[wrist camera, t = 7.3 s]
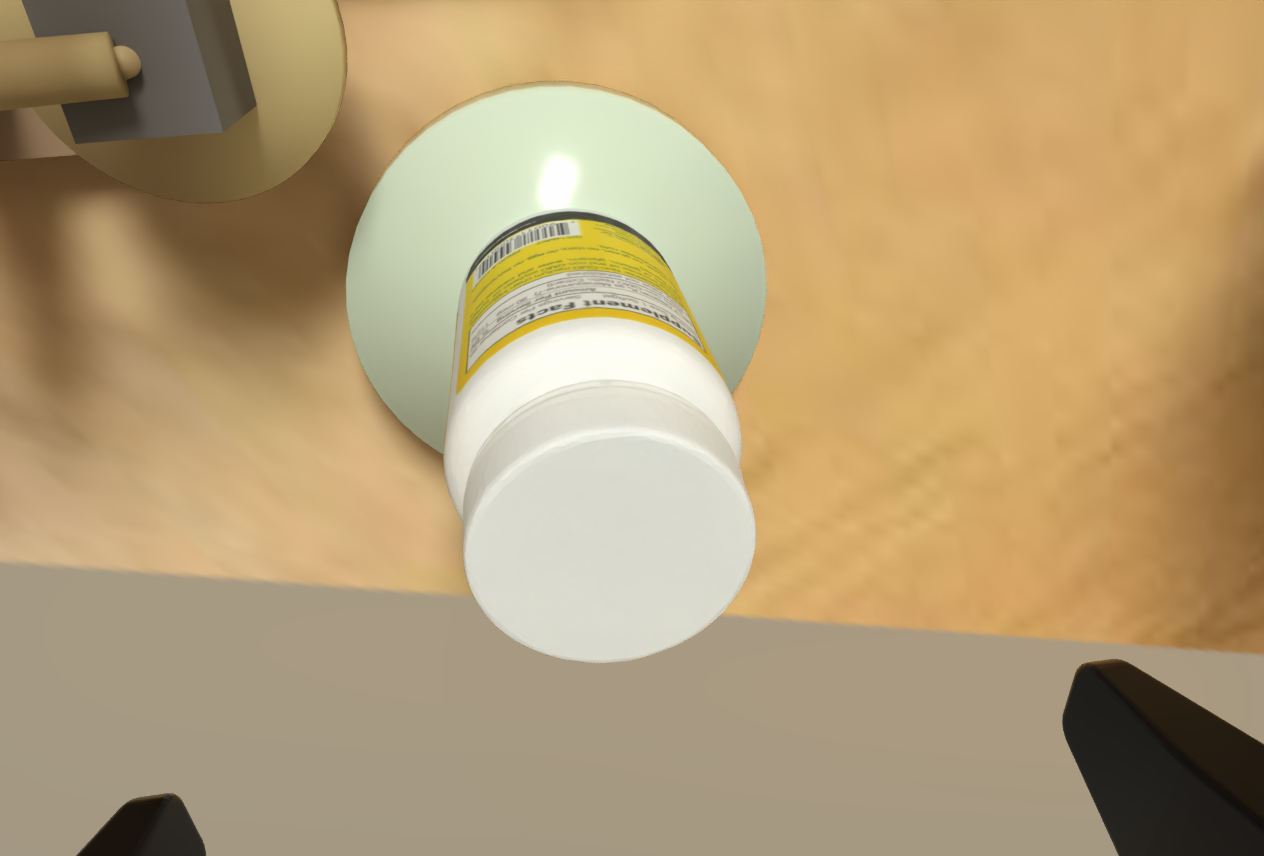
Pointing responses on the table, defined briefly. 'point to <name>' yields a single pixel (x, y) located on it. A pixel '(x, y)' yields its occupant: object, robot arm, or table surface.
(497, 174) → the sage dish
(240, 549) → the table surface
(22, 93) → the balance
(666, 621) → the supplement bottle
